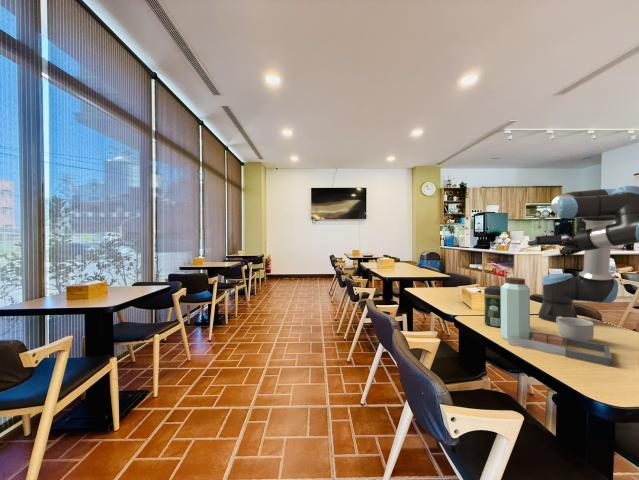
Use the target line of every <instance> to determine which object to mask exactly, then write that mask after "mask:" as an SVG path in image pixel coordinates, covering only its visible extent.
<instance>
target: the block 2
mask: <svg viewBox="0 0 639 480" xmlns="http://www.w3.org/2000/svg"><path fill="white" fill-rule="evenodd" d="M547 343H548V344H553V345H558V346H564V345H563V337H558V336H552V335H549V337H548V342H547Z"/></svg>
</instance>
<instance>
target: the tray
mask: <svg viewBox="0 0 639 480" xmlns="http://www.w3.org/2000/svg"><path fill="white" fill-rule="evenodd" d="M566 346H570V347H575V348H579V349H585V350H590V351H596V352H601V353H603V355H604V356H603V355H599V354H594V353H589V352H583V351H578V350H573V349H569V348H566V349H565V356H564V357H566V358H569V359H573V360H578V361H584V362H588V363H593V364H598V365H601V366H602V365H603V366H606V367H613V357H612V354H611V350H610V346H609V345H608V344H604V343H603V344H602V343H597V342H592V341H588V342H587V341H581V340H576V339H570V338H567V345H566Z"/></svg>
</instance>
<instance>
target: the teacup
mask: <svg viewBox="0 0 639 480" xmlns="http://www.w3.org/2000/svg"><path fill="white" fill-rule="evenodd" d="M555 323H556V324H557V326H558V333H559V336H564V337H567V338H570V339H576V340H581V341H587V342H591V341H592V340H593V338H594V334H595V332H594V325H595V323H594V322H593V321H590V320H588V319H585V318H584V319H583V318H569V317H557V318H556V322H555Z"/></svg>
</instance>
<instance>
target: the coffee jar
mask: <svg viewBox="0 0 639 480" xmlns="http://www.w3.org/2000/svg"><path fill="white" fill-rule="evenodd" d="M483 297H484V299H483V300H484V301H483V302H484V324H485V325H486V326H489V327H492V328H497V327H498V328H501V286H500V285H489V286H486V287H485V288H484V295H483Z"/></svg>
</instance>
